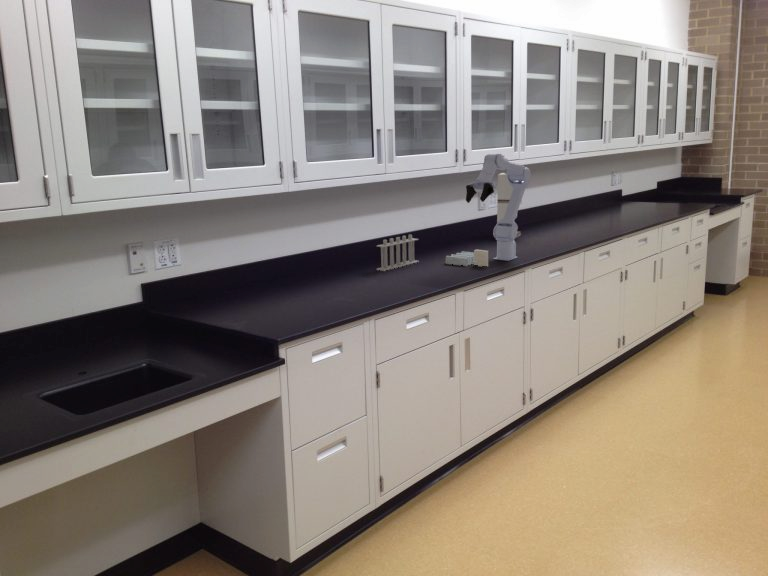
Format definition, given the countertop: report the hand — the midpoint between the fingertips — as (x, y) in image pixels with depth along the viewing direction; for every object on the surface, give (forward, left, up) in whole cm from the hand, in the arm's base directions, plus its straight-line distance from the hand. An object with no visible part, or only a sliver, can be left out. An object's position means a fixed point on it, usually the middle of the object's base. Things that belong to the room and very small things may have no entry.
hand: (474, 200), depth 286 cm
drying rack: (-11, -11, -30) cm, 34 cm away
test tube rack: (+12, -32, -30) cm, 45 cm away
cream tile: (-8, -1, -30) cm, 31 cm away
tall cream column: (-91, -31, -30) cm, 100 cm away
